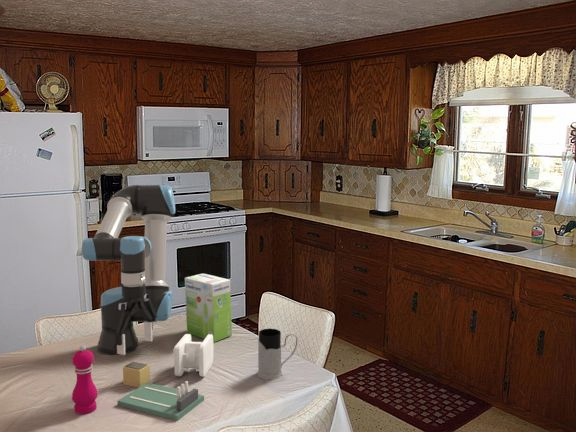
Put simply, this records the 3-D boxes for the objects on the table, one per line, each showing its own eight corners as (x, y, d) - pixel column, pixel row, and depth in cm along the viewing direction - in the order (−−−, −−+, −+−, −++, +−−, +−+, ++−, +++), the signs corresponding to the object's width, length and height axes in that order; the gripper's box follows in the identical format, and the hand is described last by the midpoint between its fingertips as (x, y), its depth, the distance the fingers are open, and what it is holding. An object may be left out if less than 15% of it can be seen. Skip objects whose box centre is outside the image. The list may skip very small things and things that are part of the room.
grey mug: (254, 369, 195) (254, 329, 193) (293, 366, 199) (294, 325, 197) (259, 380, 187) (259, 337, 185) (300, 376, 190) (300, 334, 188)
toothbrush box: (185, 333, 232) (184, 276, 228) (204, 326, 239) (203, 272, 236) (213, 343, 220) (212, 284, 217) (232, 336, 228) (231, 279, 225)
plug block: (123, 384, 183) (122, 366, 183) (133, 378, 188) (132, 360, 187) (140, 388, 181) (139, 369, 180) (150, 382, 185) (149, 364, 184)
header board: (117, 405, 169) (116, 382, 168) (147, 386, 181) (146, 365, 180) (177, 420, 160) (176, 396, 159) (204, 400, 172) (203, 377, 171)
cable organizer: (203, 381, 186) (202, 348, 184) (172, 379, 187) (172, 346, 185) (214, 363, 201) (213, 332, 199) (185, 362, 202) (185, 331, 200)
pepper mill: (76, 404, 169) (73, 341, 167) (100, 403, 170) (98, 340, 167) (69, 415, 162) (66, 350, 159) (94, 414, 163) (91, 349, 160)
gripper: (116, 294, 167) (118, 362, 169) (166, 277, 189) (167, 337, 192) (96, 291, 170) (99, 358, 172) (148, 274, 192) (150, 333, 195)
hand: (135, 347), depth 182 cm, fingers open, 13 cm apart
